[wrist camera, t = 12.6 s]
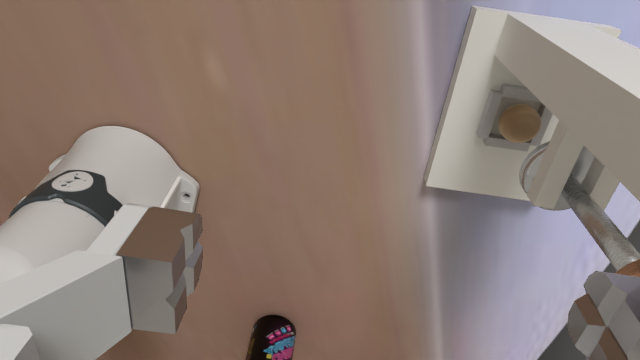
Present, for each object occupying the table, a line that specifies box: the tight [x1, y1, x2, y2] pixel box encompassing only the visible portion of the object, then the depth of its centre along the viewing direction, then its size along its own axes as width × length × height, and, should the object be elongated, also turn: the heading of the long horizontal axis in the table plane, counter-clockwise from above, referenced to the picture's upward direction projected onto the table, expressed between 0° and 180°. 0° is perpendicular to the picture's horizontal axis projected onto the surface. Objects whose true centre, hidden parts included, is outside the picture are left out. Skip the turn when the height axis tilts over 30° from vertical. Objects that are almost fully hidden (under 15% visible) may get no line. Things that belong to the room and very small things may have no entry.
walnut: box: [499, 104, 541, 143], centre depth 47 cm, size 4×4×4 cm
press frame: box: [424, 5, 640, 211], centre depth 37 cm, size 20×14×30 cm
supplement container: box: [245, 315, 296, 360], centre depth 66 cm, size 7×7×10 cm
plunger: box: [519, 141, 640, 277], centre depth 31 cm, size 6×6×17 cm
